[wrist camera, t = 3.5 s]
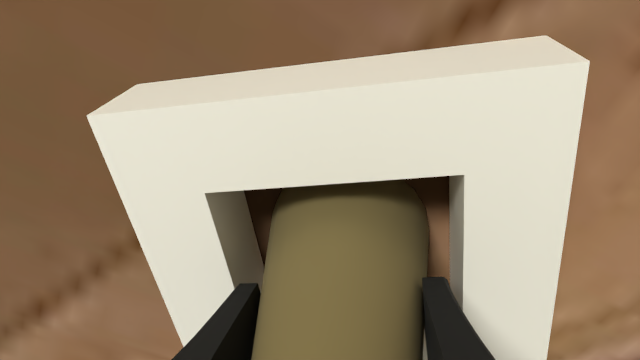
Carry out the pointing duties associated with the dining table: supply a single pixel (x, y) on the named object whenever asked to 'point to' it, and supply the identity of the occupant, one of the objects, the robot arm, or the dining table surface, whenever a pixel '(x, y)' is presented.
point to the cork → (344, 274)
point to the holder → (361, 168)
